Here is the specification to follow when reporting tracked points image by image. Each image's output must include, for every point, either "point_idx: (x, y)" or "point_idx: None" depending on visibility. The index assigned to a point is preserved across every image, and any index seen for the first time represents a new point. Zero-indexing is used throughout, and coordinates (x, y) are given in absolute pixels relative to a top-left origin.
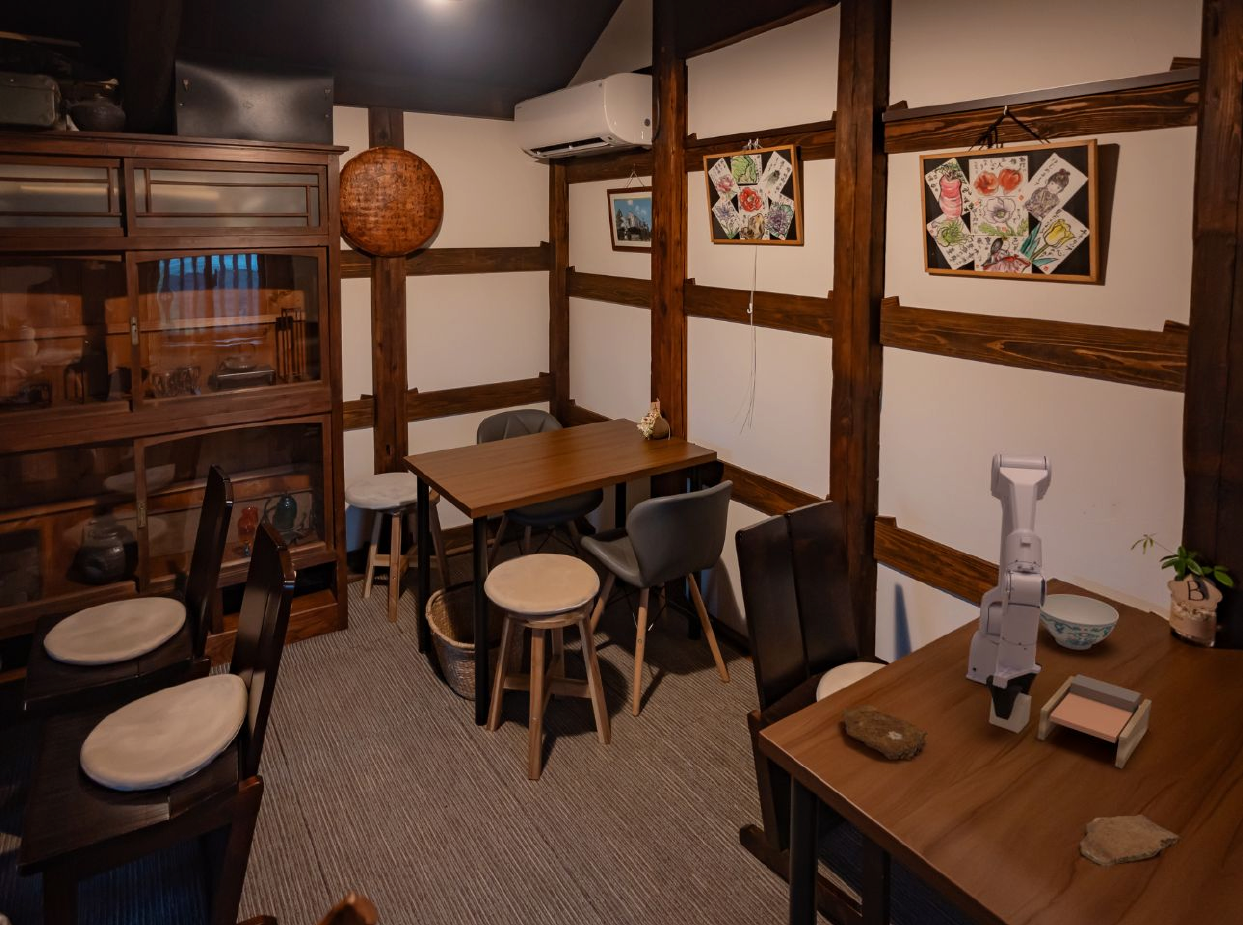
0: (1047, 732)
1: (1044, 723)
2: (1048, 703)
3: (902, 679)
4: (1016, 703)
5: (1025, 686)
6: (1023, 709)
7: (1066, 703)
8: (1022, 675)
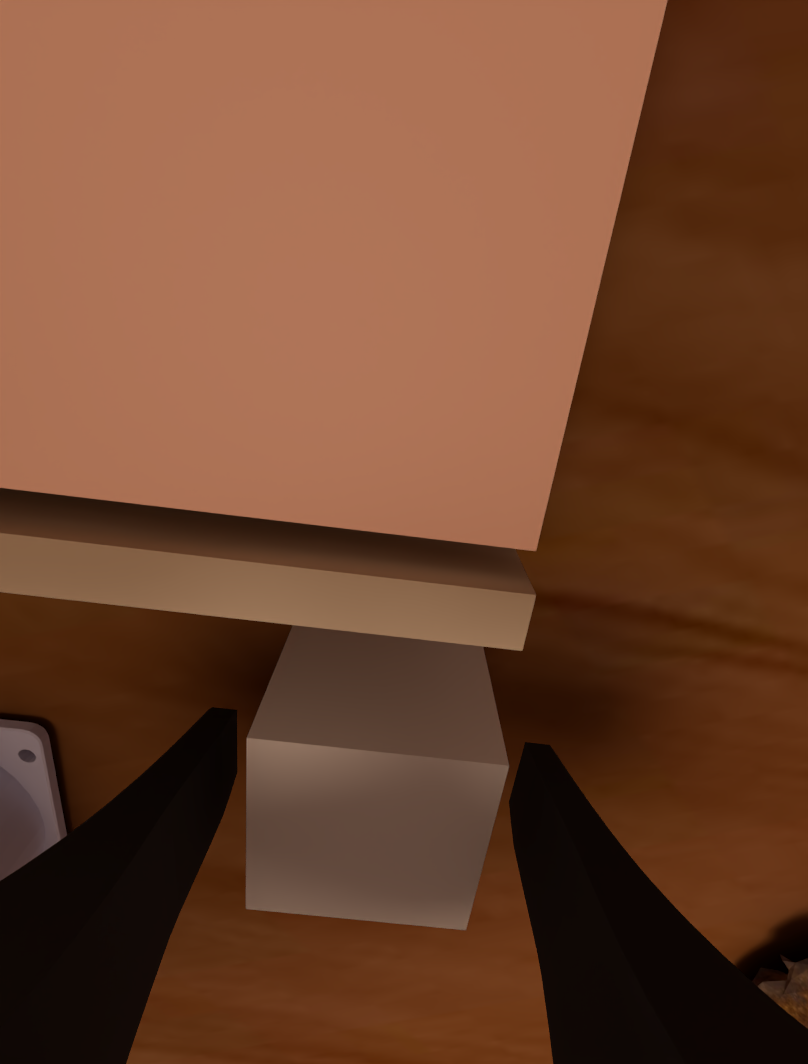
0: None
1: None
2: (342, 615)
3: (295, 1056)
4: (451, 802)
5: (167, 833)
6: (436, 722)
7: (151, 454)
8: (112, 980)
